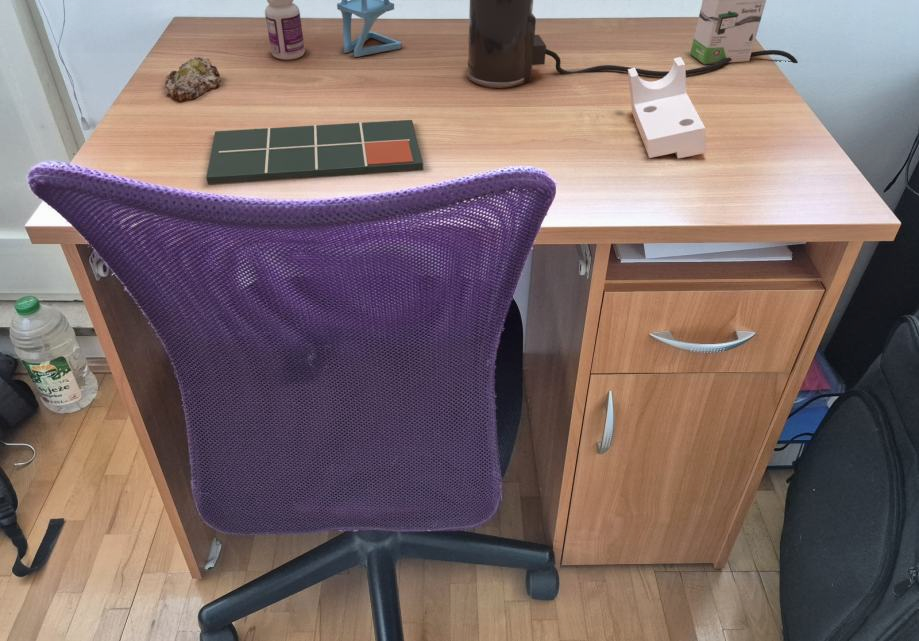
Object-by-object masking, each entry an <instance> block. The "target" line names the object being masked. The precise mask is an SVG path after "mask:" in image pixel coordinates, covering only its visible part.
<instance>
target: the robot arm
mask: <svg viewBox="0 0 919 641" xmlns="http://www.w3.org/2000/svg"><path fill="white" fill-rule="evenodd" d="M533 10H534V0H469V10H468V11H469V13H468V48H467V50H468V52H467V54H468V57H467V71H466V75H467V78H468V80H470V81H471V82H472V83H474V84H476V85H478V86H482V87H487V88H493V89H494V88H495V89H496V88H498V89H505V88H513V87H517V86H519V85H520V86H521V85H522V84H525V83H531V82H532V74H533V66H540V65H541V66H542V65H545V64H546V63H545V61H546V55H547V56H549V57H552V58H553V59H554V61H555V70H556V72H557V73H559V74H561V75H572V74H587V73H594V72H599V71H615V72H624V73H625V72H626V73H628V69H631V68H632V67H629V66H623V65H613V64H600V65H596V66H591V67H587V68H585V69H579V70H575V71H568V70H565V69H564V68H562V67H561V63H562V62H561V58H560V56H559V55H558V54H557V53H556V52H555V51H553V50H550V49H548V48H547V44H546V43H545V41H544V40H543V38H542V36H540V34H536V25H537V24H536V23H537V19H536V16H535V15H534V14H533ZM762 56H780V57H784V58H786V59H788V60H789V61H790V62H791V63H793V64H798V63H799V61H798V60H797V58H795V56H794V55H792V54H791V53H790V52H787V51H785V50H780V49H765V50H758V51H752V52H751V56H750V58H756V57H762ZM731 60H732V59H731V58H726V59H724V60H722V61H720V62H718V63H715V64H709V65H706V66H701V67H697V68H690V69H685V72H686V76H688V75H694V74H699V73H704V72H709V71H713V70H715V69H718V68H721V67H722V66H724V65H726V64H728V62H729V63H731V62H730V61H731ZM634 68H635V69H636V71H637V74H638V75H643V76H651V77H665V76H666V75H667V74H668V73H669V72H670V70H667V71H665V70H663V71H661V70H648V69H643V68H642V69H641V68H636V67H634Z"/></svg>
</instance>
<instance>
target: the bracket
mask: <svg viewBox="0 0 919 641" xmlns="http://www.w3.org/2000/svg"><path fill="white" fill-rule="evenodd" d="M630 68H631V69H628V72H627V75H628V84H629V96H630V105H631V106H630V107H631V114H632V117H633V119H634V122H635V125H636V127H637V129H638V133H639V135H640V137H641V141H642V143H643V146H644V148H645V150H646V153H647V156H648V158H649V159H652V158H656V157H662V156H666V155H671V154H675V156H676V157H677V159H683V158H687V157H692V156H697V155H702V154H706V153H707V143H706V142H707V140H706V127H705V124H704V122H703V121H702V119H701V117H700V116H699V113H698V112H697V109H696V108H695V106H694V104H693V102H692V100H691V98H690V97H689V95H688V93H687V75H686V72H685V70H686V64H685V62H684V60H683V58H682V56H678V57H675V58H673V63H672V66H671V69H670V70H669V71H670V72H669V73H668V74H667V75H666V76H663V77H662V78H660V79H658V80H654V81H648V80H644V79H642V78H641V77H640V76H639V74H637V71H636V69H637V68H636V67H630ZM635 68H636V69H635Z"/></svg>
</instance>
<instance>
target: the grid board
mask: <svg viewBox="0 0 919 641" xmlns="http://www.w3.org/2000/svg"><path fill="white" fill-rule="evenodd" d="M422 170H424V161H423V157H422V152H421V150H420V145H419V141H418V138H417V133H416V130H415V127H414V122H413V119H403V120H384V121H367V122H362V121H358V122H350V123H334V124H333V123H332V124H316V123H315V124H313V125H300V126H284V127H283V126H282V127H270V126H269V127H267V128H265V127H264V128H248V129H246V128H245V129H234V130H233V129H230V130H215V131H214V135H213V141H212V146H211V151H210V156H209V162H208V166H207V171H206V177H205V179H206V183H207V185H217V184H218V185H219V184H232V183H246V182H249V183H250V182H262V181H264V182H265V181H276V180H279V181H280V180H291V179H305V178H320V177H321V178H322V177H335V176H349V175H351V176H352V175H363V174H378V173H379V174H380V173H393V172H406V171H409V172H410V171H422Z"/></svg>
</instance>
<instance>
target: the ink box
mask: <svg viewBox="0 0 919 641" xmlns="http://www.w3.org/2000/svg"><path fill="white" fill-rule="evenodd" d="M766 3H767V0H702V2H701V6H700V10H699V14H698V17H697V18H698V19H697V23H696V28H695V31H694V35H693V40H692V44H691V48H690V52H689V54H690V55H691V56H692V57H693V58H695V59H696V60H697V61H699V62H700V63H702V65H713V64H716V63H718V62H720V61H722V60H724V59H726V58H731V59H732V60H731V61H730V62H728V63H740V62H741V63H742V62H749V61H750V60H751V57H750V56H751V52H753V49H754V44H755V41H756V38H757V35H758V32H759V28H760V24H761V20H762V16H763V14H764V10H765V7H766ZM728 63H727V64H728Z"/></svg>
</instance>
